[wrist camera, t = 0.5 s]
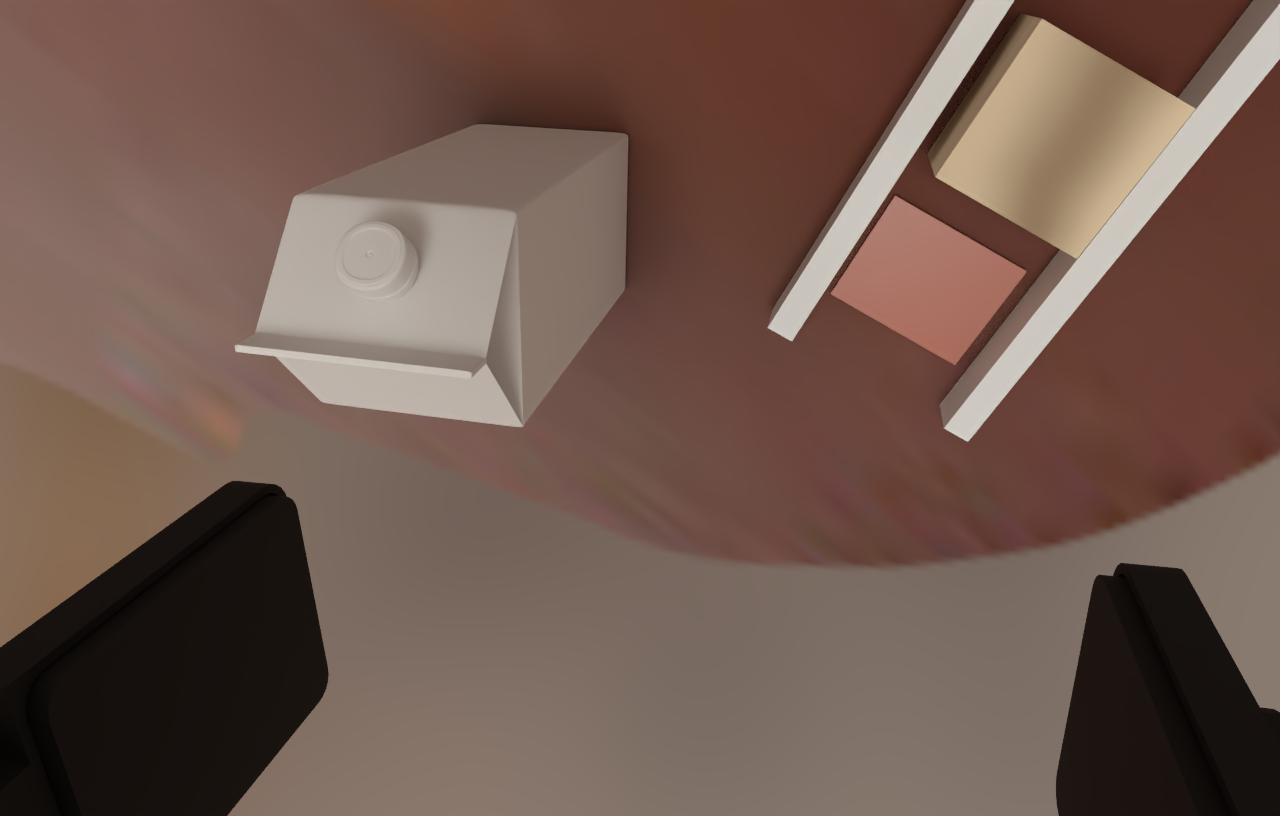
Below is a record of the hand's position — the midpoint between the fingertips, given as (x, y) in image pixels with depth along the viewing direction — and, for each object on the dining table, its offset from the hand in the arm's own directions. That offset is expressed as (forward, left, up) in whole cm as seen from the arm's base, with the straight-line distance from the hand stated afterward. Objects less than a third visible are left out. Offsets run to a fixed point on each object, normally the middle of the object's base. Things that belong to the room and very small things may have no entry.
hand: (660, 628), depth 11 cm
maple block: (+7, +5, -32) cm, 33 cm away
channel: (+7, +3, -32) cm, 33 cm away
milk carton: (-9, -8, -32) cm, 34 cm away
